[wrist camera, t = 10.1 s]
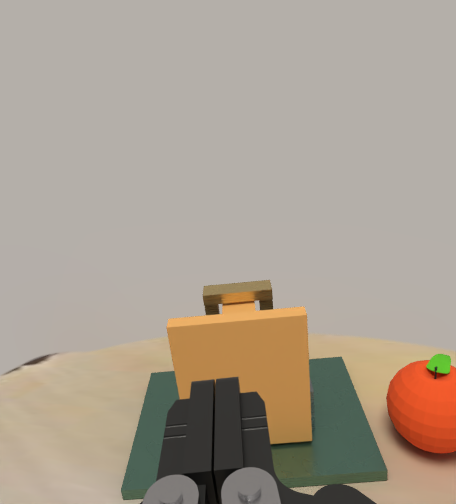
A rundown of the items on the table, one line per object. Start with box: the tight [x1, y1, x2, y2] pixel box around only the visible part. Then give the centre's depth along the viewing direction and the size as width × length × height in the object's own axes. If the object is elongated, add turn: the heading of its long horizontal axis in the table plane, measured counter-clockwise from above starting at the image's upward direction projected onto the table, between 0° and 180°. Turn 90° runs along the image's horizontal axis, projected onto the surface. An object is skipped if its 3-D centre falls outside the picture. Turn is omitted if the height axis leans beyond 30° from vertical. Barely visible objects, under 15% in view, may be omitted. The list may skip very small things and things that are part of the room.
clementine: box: [386, 354, 456, 453], centre depth 35 cm, size 8×7×7 cm
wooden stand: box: [167, 301, 312, 444], centre depth 38 cm, size 10×10×12 cm
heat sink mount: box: [121, 280, 387, 500], centre depth 37 cm, size 20×14×11 cm
